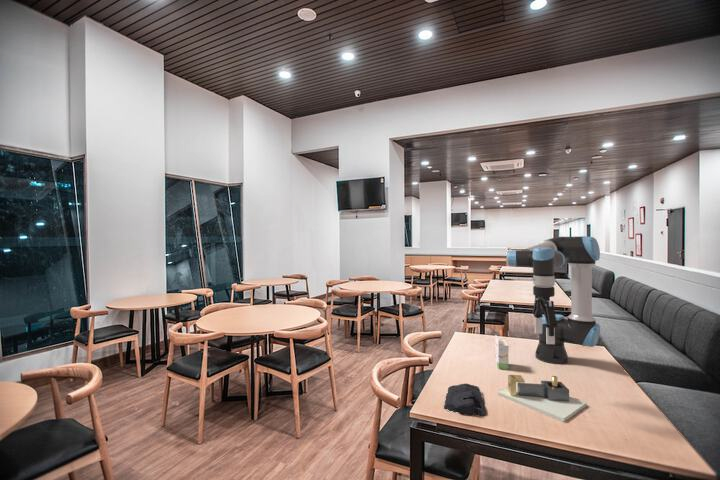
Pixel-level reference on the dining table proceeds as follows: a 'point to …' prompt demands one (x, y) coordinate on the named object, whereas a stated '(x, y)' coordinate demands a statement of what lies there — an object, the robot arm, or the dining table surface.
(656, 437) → the dining table surface
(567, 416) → the board
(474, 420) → the dining table surface
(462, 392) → the black flat irregular piece
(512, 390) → the block
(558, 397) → the link
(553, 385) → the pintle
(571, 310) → the robot arm
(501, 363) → the ink box
